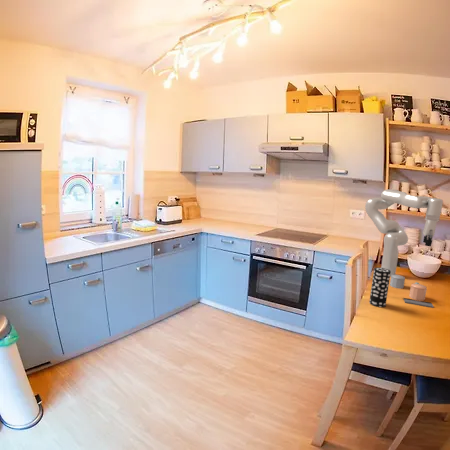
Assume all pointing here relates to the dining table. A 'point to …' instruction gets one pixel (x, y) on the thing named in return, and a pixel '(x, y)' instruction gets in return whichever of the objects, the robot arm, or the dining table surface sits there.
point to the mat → (418, 302)
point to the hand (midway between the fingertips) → (426, 244)
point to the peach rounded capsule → (418, 292)
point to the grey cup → (397, 281)
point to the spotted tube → (379, 287)
